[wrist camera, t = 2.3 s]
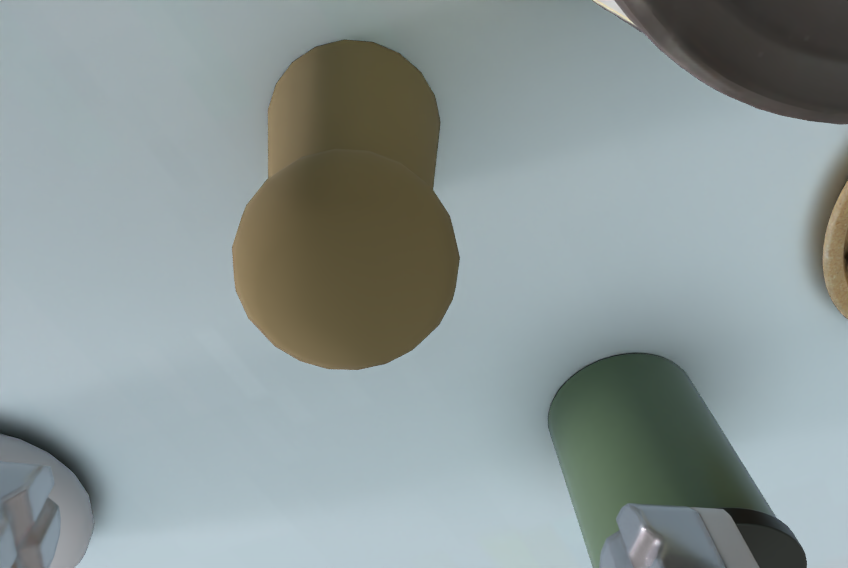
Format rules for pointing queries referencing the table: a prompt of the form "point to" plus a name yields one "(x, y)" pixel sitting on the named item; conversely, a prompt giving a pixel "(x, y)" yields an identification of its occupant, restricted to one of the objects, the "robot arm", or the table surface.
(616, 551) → the robot arm
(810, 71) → the coffee can
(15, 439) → the donut
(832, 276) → the toy sandwich meal
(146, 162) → the table surface
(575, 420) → the olive tin
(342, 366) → the cork
